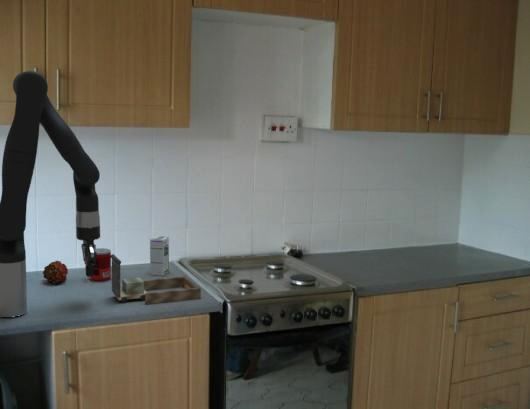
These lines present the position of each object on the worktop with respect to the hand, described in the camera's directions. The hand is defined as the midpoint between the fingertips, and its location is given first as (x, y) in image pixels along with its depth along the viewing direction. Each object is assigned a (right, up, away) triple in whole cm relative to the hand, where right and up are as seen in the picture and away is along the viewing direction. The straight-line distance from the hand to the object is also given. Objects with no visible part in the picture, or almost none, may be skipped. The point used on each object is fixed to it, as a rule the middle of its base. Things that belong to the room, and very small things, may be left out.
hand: (89, 275), depth 210 cm
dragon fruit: (-20, -5, +26) cm, 33 cm away
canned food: (-5, -5, +31) cm, 32 cm away
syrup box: (+16, -4, +42) cm, 45 cm away
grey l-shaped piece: (+12, -8, +8) cm, 16 cm away
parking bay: (+23, -8, +13) cm, 27 cm away
